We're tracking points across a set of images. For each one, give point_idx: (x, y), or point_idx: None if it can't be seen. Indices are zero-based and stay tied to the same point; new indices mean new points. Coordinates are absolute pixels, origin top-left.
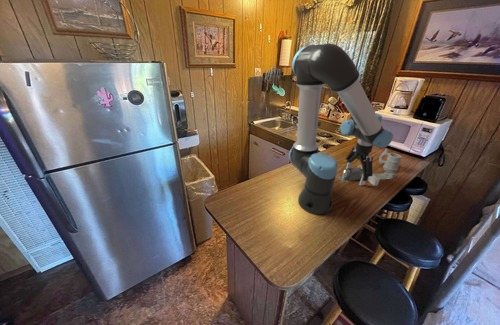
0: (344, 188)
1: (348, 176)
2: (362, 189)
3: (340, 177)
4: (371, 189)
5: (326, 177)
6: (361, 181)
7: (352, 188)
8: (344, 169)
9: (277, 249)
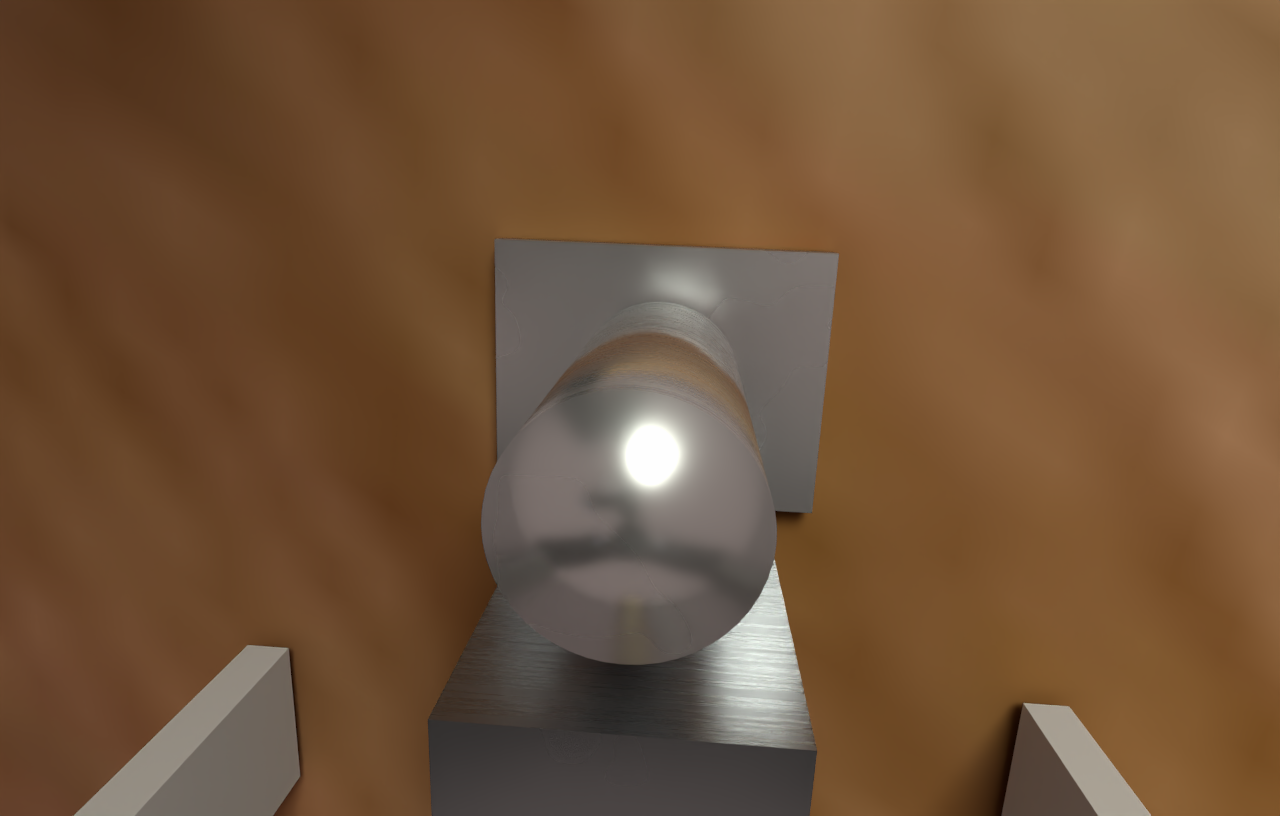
0: (109, 52)
1: None
2: (76, 589)
3: (754, 308)
4: None
5: None
6: (151, 750)
7: (117, 333)
8: (723, 479)
9: None
